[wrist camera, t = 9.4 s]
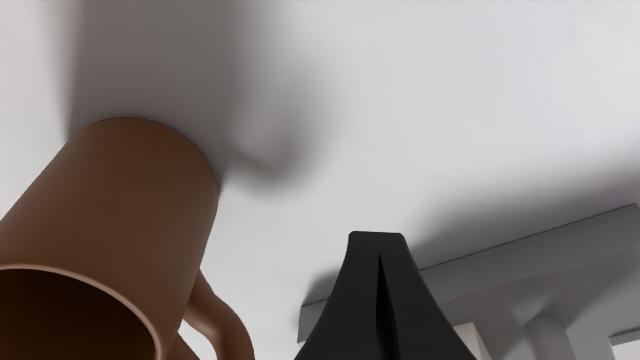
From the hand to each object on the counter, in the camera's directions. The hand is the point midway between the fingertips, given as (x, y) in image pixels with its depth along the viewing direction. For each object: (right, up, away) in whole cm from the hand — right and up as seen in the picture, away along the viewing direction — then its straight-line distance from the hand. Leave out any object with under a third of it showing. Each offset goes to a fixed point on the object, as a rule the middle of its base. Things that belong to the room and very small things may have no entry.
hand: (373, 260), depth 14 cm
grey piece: (+8, -6, +16) cm, 19 cm away
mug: (-8, +1, +13) cm, 15 cm away
